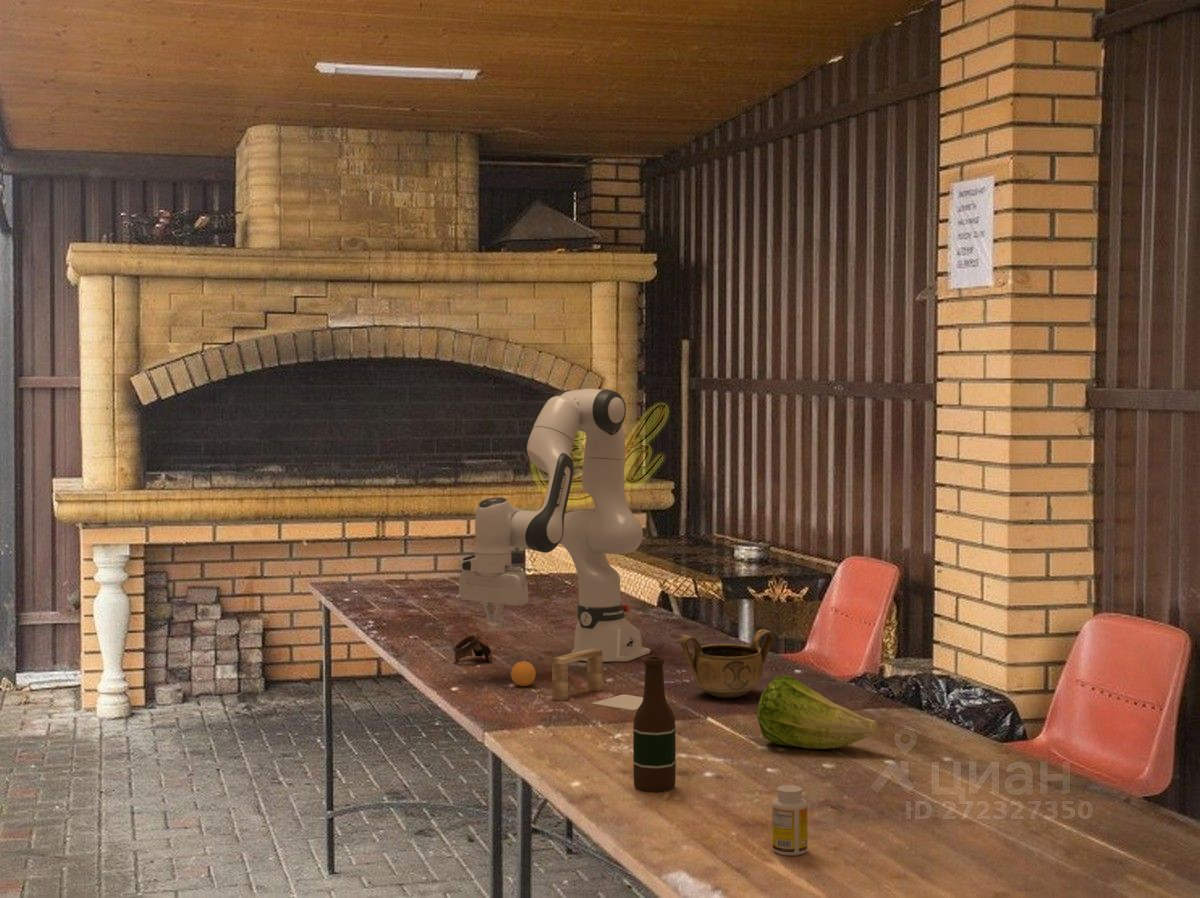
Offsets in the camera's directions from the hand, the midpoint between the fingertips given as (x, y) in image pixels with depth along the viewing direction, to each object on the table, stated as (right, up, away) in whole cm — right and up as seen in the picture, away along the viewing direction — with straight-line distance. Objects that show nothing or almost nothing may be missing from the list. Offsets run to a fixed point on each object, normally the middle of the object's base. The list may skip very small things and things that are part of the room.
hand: (493, 620), depth 388 cm
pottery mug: (-7, -14, +27) cm, 31 cm away
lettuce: (+70, -19, -69) cm, 100 cm away
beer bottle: (+36, -20, -98) cm, 106 cm away
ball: (+7, -12, -5) cm, 15 cm away
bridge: (+21, -16, -16) cm, 31 cm away
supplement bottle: (+56, -22, -137) cm, 149 cm away
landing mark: (+33, -16, -25) cm, 44 cm away
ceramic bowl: (+56, -16, -18) cm, 61 cm away
